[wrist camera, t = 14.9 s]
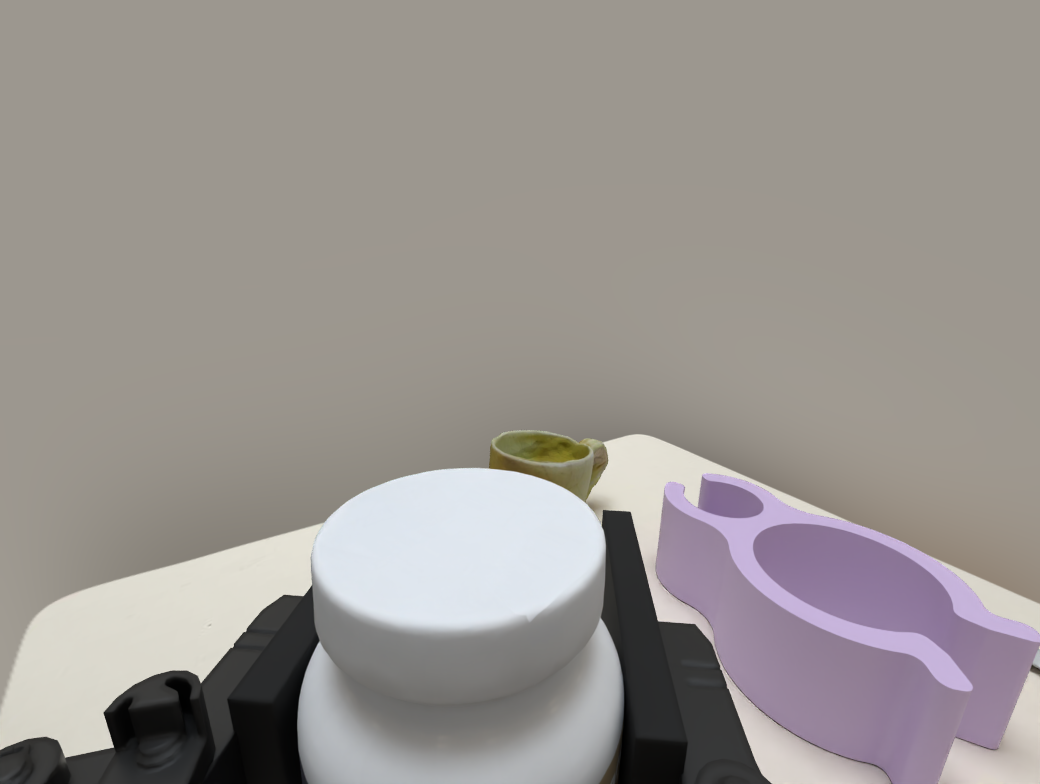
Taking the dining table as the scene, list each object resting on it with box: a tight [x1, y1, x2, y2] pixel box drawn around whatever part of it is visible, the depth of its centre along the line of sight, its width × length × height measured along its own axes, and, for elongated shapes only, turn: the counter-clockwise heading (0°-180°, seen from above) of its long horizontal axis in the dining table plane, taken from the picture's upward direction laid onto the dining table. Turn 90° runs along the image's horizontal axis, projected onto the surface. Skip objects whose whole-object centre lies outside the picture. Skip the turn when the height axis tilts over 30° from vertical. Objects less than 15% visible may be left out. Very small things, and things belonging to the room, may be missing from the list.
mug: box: [489, 430, 608, 502], centre depth 44 cm, size 12×10×10 cm
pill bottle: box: [297, 468, 624, 784], centre depth 9 cm, size 6×6×10 cm
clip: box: [656, 473, 1040, 784], centre depth 31 cm, size 20×12×7 cm, turn 25°
